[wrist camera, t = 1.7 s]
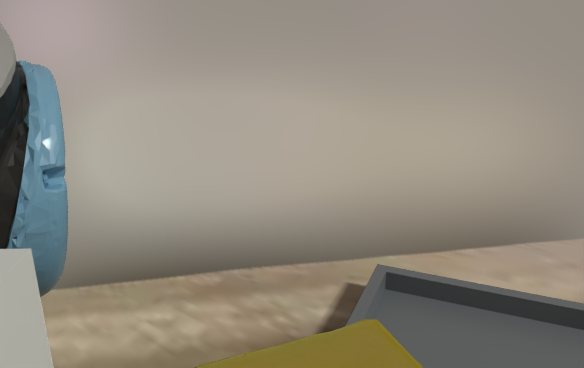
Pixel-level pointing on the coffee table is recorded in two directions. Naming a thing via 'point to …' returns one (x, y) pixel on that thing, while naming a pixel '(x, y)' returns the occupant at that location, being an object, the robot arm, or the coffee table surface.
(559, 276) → the coffee table surface
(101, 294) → the coffee table surface
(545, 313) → the tray
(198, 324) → the coffee table surface
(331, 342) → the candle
